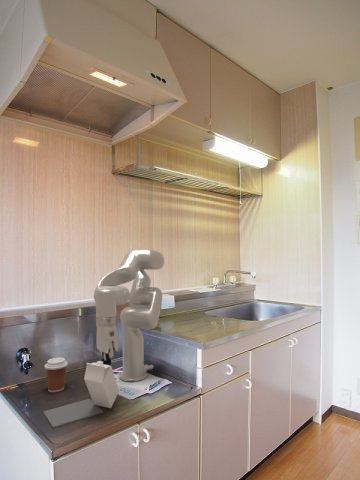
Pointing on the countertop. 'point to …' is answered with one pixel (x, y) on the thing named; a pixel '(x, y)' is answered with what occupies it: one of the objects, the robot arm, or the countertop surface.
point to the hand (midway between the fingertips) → (106, 369)
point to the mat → (72, 413)
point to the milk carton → (101, 384)
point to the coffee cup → (56, 374)
